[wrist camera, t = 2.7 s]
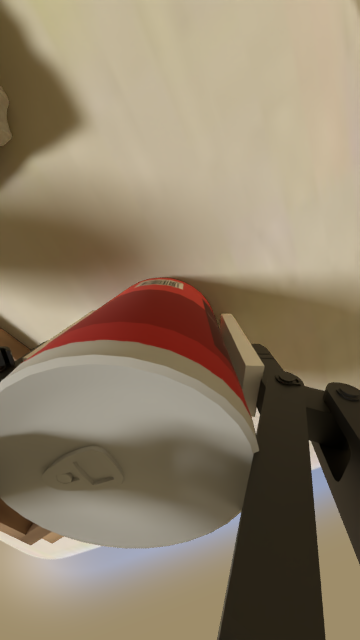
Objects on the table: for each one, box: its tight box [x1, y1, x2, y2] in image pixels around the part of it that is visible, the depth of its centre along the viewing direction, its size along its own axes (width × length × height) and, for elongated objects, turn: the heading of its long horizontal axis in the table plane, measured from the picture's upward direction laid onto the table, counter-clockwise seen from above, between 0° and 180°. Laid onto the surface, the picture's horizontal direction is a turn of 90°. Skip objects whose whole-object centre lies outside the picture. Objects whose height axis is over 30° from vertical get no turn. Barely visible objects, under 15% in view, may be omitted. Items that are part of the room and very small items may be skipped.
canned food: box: [0, 278, 259, 548], centre depth 10 cm, size 8×8×11 cm
